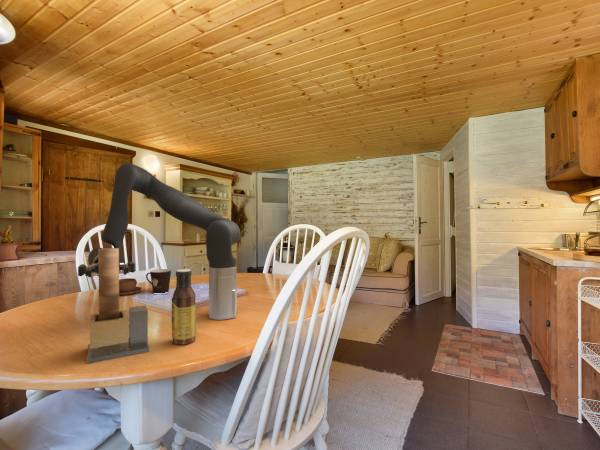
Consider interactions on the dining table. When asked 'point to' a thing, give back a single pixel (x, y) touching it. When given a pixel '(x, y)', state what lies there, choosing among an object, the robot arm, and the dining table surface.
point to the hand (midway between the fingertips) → (108, 272)
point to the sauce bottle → (183, 309)
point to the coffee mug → (160, 280)
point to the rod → (108, 283)
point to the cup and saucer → (128, 286)
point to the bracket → (118, 335)
